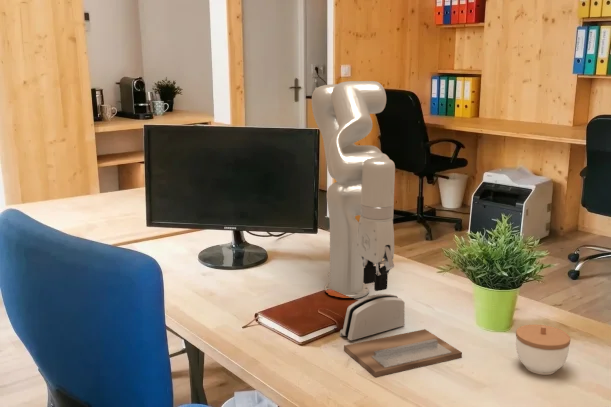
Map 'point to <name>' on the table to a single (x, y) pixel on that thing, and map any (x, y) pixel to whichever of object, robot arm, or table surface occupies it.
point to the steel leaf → (409, 353)
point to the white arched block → (373, 316)
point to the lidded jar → (542, 348)
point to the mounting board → (367, 348)
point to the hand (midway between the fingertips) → (375, 285)
